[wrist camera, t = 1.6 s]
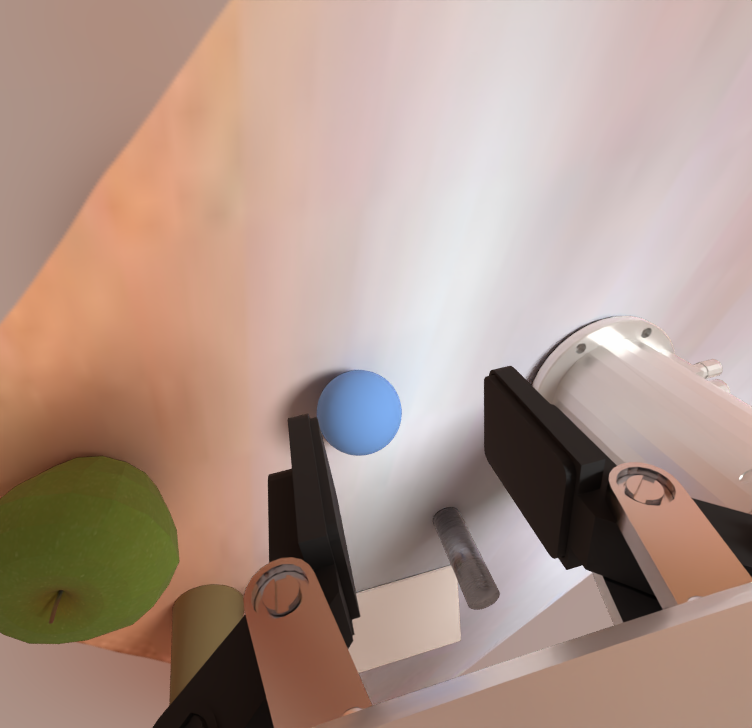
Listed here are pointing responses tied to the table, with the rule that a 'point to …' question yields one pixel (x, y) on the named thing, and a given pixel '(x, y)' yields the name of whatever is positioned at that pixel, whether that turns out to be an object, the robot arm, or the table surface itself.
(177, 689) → the olive pawn shape
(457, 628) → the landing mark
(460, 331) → the table surface
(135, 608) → the apple
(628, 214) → the table surface
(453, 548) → the post
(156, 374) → the table surface
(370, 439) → the ball
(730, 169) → the table surface
